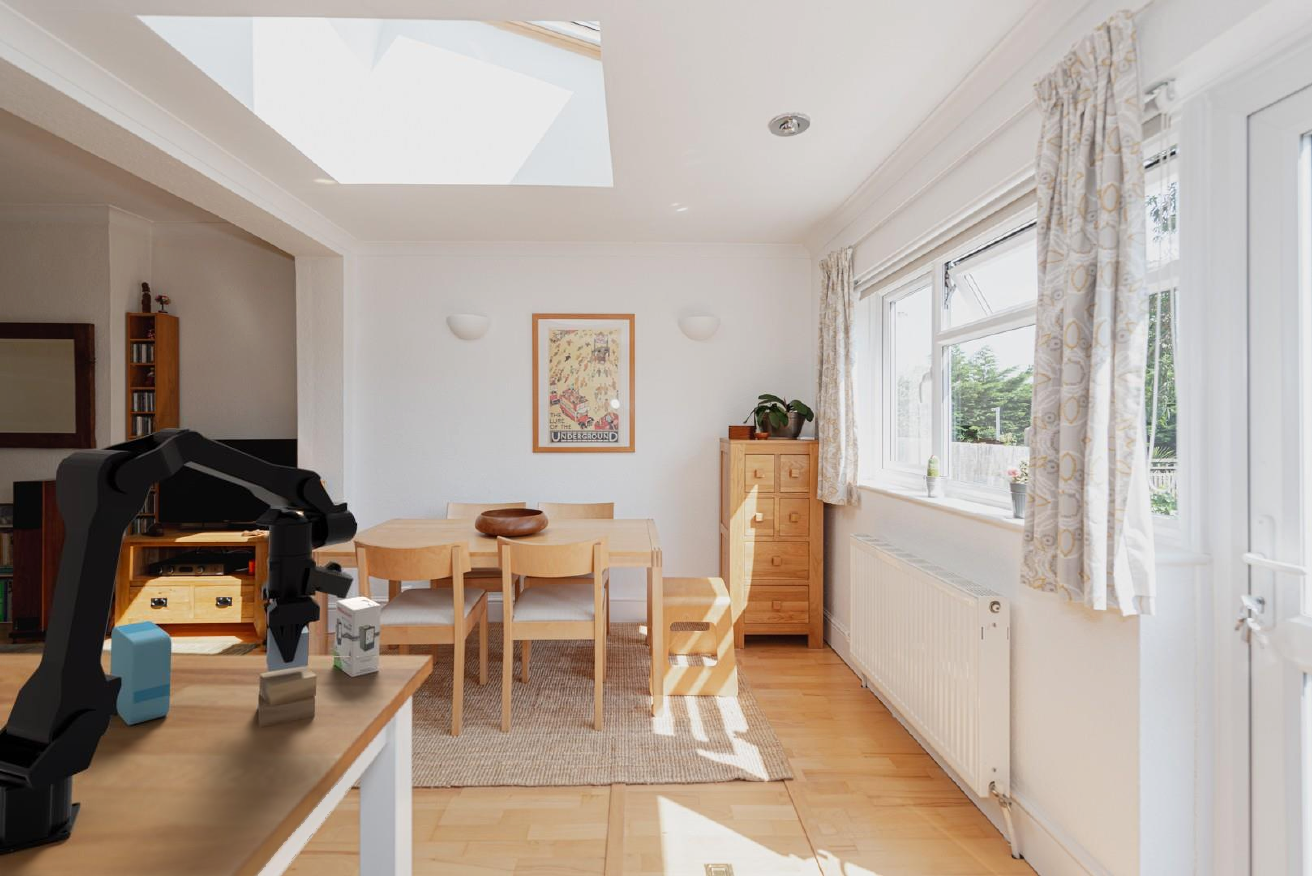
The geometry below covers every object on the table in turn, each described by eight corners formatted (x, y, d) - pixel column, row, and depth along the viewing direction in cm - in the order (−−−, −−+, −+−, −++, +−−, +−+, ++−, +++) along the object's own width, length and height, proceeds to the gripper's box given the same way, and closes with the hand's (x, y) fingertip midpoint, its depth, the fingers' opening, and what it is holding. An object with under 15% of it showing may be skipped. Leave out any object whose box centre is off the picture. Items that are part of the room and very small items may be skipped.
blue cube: (307, 665, 94) (309, 632, 94) (268, 671, 91) (269, 637, 91) (304, 655, 98) (305, 623, 98) (266, 661, 95) (267, 628, 95)
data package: (169, 718, 91) (172, 635, 91) (129, 729, 88) (132, 643, 88) (146, 695, 99) (148, 618, 99) (108, 704, 95) (111, 624, 95)
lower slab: (314, 719, 93) (315, 699, 93) (258, 730, 90) (259, 709, 90) (310, 701, 99) (311, 682, 99) (258, 711, 96) (258, 691, 95)
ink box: (332, 664, 114) (334, 599, 114) (360, 658, 118) (362, 595, 118) (351, 678, 108) (353, 609, 108) (380, 671, 112) (382, 604, 112)
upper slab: (316, 695, 95) (316, 675, 95) (270, 707, 90) (271, 686, 90) (303, 683, 99) (303, 664, 99) (259, 693, 95) (259, 674, 95)
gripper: (360, 559, 91) (356, 667, 91) (340, 540, 107) (337, 632, 107) (270, 566, 85) (266, 681, 85) (263, 544, 100) (259, 642, 100)
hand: (287, 656), depth 94 cm, fingers closed on blue cube, 5 cm apart
